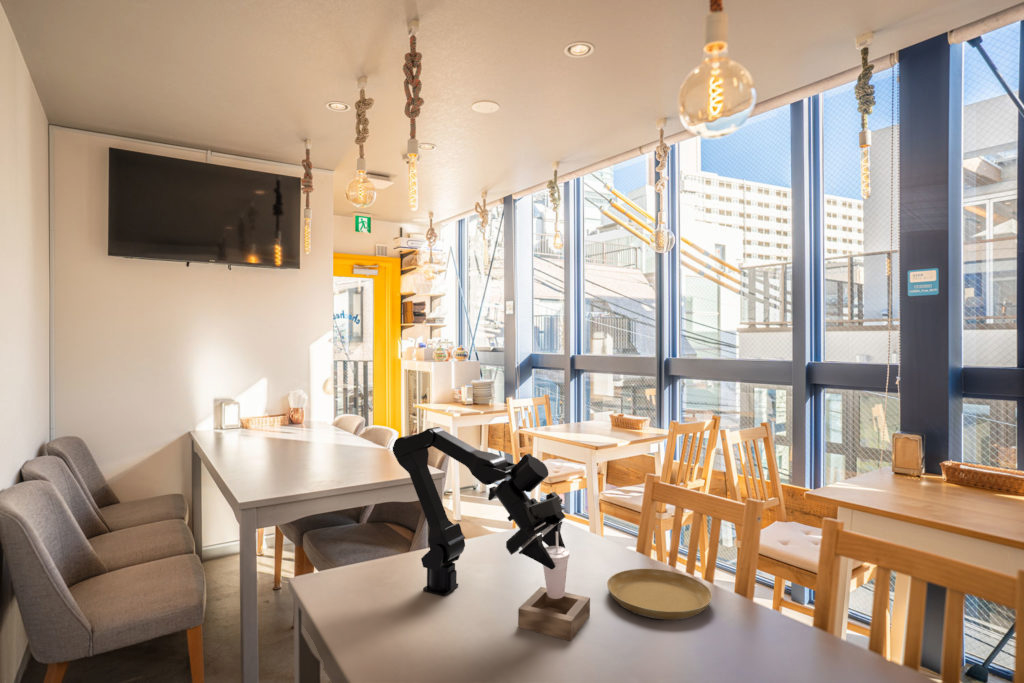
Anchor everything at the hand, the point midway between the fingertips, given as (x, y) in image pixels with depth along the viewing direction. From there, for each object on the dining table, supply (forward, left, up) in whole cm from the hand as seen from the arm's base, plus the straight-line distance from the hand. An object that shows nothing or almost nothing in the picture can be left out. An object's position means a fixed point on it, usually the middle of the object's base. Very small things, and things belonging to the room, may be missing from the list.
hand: (560, 563), depth 123 cm
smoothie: (-1, +1, -8) cm, 8 cm away
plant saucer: (+17, +21, -13) cm, 30 cm away
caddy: (-1, 0, -13) cm, 13 cm away
